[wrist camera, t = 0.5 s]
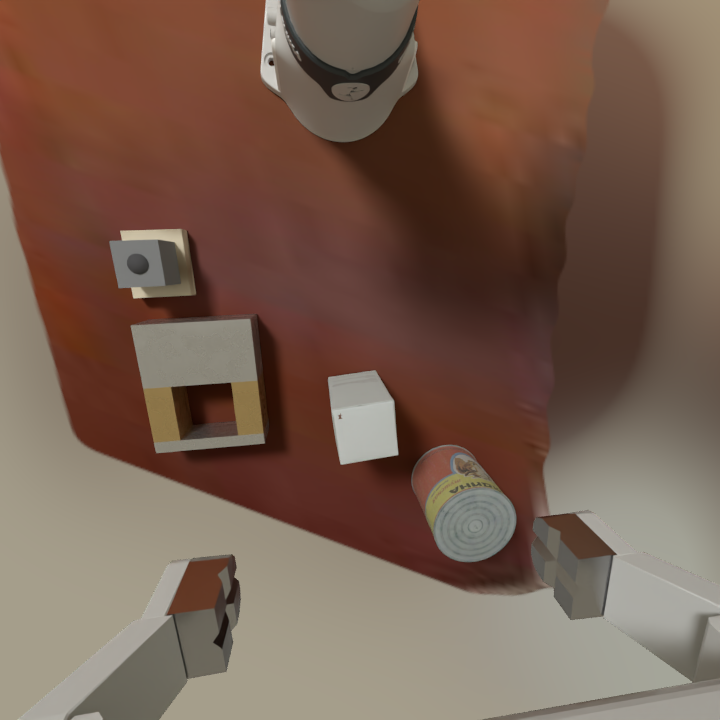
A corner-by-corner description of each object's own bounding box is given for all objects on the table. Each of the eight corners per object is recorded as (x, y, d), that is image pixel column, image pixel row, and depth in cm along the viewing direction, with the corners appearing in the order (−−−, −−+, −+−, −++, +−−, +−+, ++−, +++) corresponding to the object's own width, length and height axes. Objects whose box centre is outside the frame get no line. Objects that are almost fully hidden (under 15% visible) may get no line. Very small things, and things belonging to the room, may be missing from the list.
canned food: (488, 453, 60) (529, 497, 48) (464, 512, 62) (497, 568, 51) (424, 437, 58) (451, 480, 46) (402, 499, 60) (422, 554, 49)
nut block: (131, 243, 45) (108, 241, 40) (174, 242, 45) (157, 239, 40) (139, 285, 46) (118, 288, 41) (181, 283, 47) (165, 285, 42)
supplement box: (333, 422, 56) (338, 466, 44) (327, 375, 54) (330, 408, 42) (381, 415, 56) (399, 457, 44) (377, 369, 54) (394, 399, 42)
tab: (128, 232, 46) (120, 230, 44) (186, 230, 47) (181, 229, 45) (140, 297, 48) (133, 298, 46) (196, 294, 49) (191, 295, 47)
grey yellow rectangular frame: (149, 319, 49) (130, 325, 44) (256, 313, 50) (250, 318, 46) (170, 436, 53) (156, 453, 49) (269, 427, 55) (264, 443, 50)
